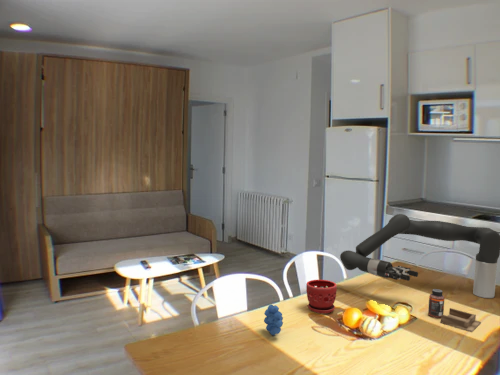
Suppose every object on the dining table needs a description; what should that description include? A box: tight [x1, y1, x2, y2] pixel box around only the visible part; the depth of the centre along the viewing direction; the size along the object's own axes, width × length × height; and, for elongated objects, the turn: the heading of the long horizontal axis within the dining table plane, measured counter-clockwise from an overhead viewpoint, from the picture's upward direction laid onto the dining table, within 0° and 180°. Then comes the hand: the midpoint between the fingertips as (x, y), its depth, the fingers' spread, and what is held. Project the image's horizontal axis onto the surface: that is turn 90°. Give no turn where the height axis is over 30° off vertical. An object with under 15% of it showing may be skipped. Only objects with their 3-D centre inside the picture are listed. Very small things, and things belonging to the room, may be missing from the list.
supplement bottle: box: [427, 288, 445, 319], centre depth 176 cm, size 6×6×11 cm
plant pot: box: [305, 279, 338, 314], centre depth 181 cm, size 13×13×12 cm
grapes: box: [263, 304, 284, 336], centre depth 156 cm, size 12×7×12 cm, turn 27°
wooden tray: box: [439, 307, 482, 333], centre depth 170 cm, size 12×12×3 cm
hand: (413, 276), depth 182 cm, fingers open, 8 cm apart
